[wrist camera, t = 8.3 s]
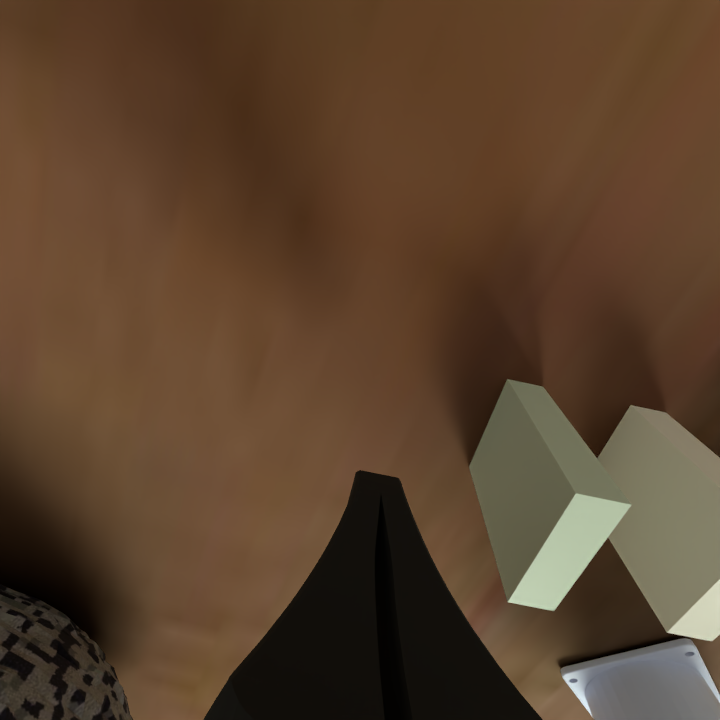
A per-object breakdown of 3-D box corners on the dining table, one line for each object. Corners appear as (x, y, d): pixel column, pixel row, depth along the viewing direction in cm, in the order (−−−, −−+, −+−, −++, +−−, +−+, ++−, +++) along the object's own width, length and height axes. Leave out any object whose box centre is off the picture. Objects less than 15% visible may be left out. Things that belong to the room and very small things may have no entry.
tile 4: (665, 412, 16) (821, 542, 11) (609, 495, 19) (711, 641, 13) (630, 405, 16) (767, 531, 10) (578, 489, 18) (666, 632, 13)
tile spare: (543, 386, 16) (631, 504, 10) (500, 473, 18) (553, 611, 13) (507, 379, 16) (575, 493, 10) (468, 466, 18) (507, 602, 12)
